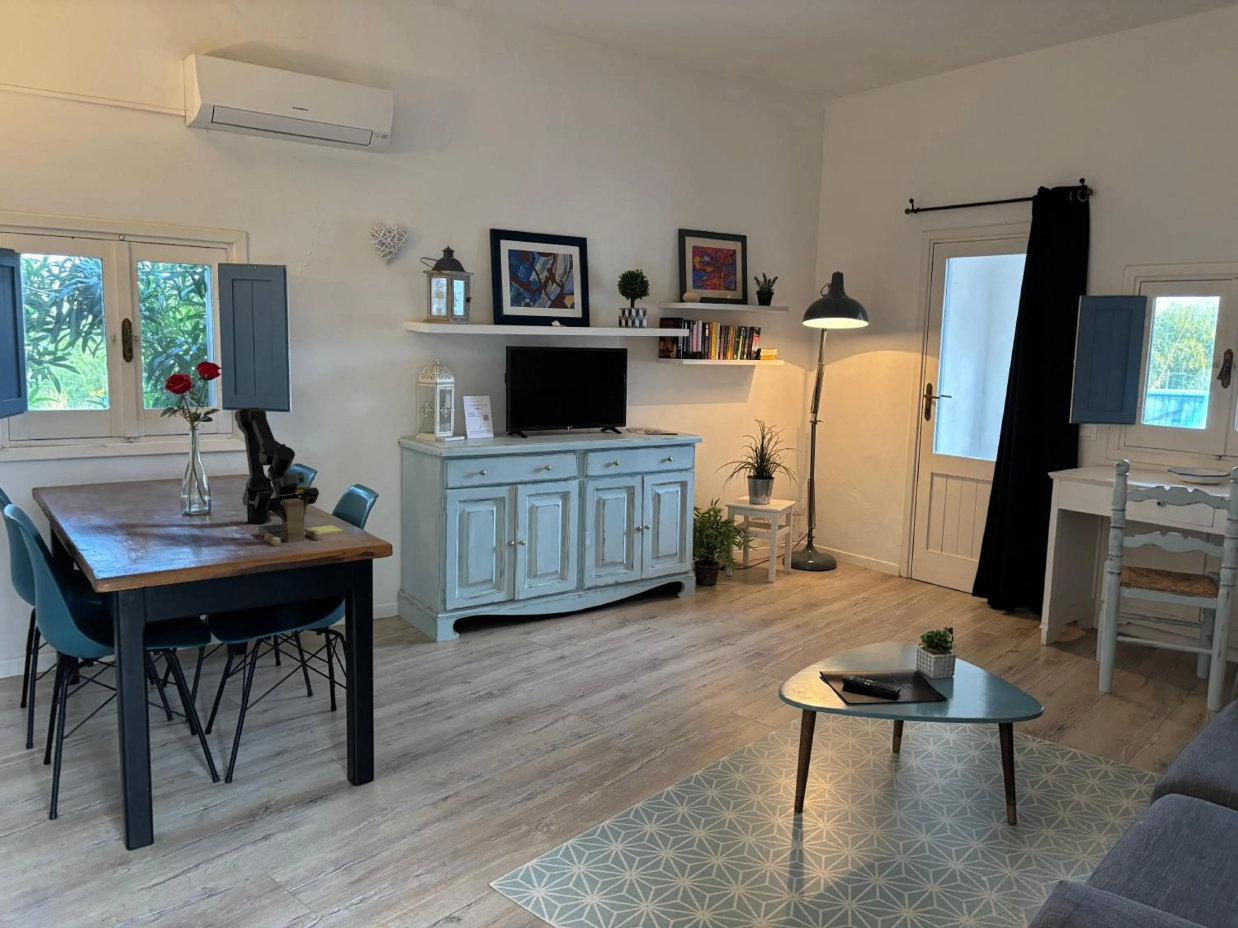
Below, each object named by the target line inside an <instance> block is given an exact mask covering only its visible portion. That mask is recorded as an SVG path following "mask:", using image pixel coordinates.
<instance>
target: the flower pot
mask: <svg viewBox="0 0 1238 928" xmlns="http://www.w3.org/2000/svg"><path fill="white" fill-rule="evenodd" d="M297 488H298V489H297V491H295V493H303V491H304V488H312V486H311V485H309V486H304V485H303V486H297ZM310 506H311V504H307V505H306V506H305V513H304V514H306V513H307V511H308V510H309V508H310Z"/></svg>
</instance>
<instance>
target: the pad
mask: <svg viewBox="0 0 1238 928" xmlns="http://www.w3.org/2000/svg"><path fill="white" fill-rule="evenodd" d="M308 528H309V527H307V528H305V527H304V531H306V529H308ZM310 528H311V529H313V530H316V531H318V532H320V533H322V534H323V535H327V534H335V533H342V532H344V529H341V528H339V527H336V525H335V526H334V525H332V524H331V525H326V526H325V525H324V526H316V527H315V526H314V527H310Z"/></svg>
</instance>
